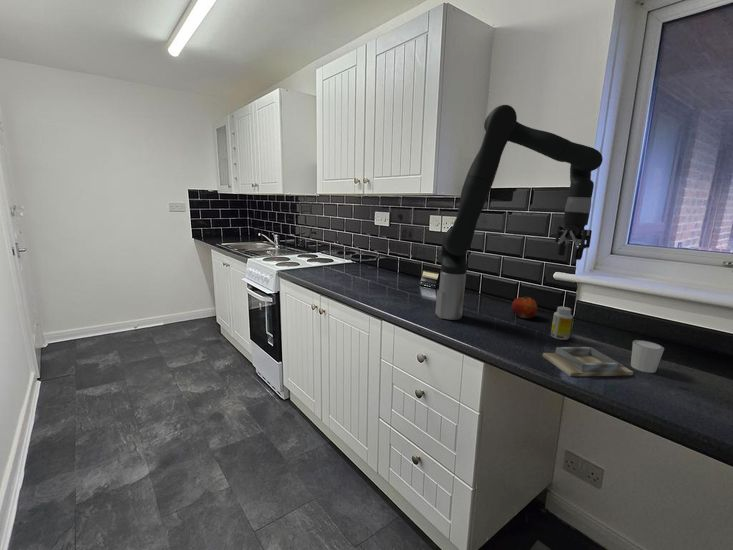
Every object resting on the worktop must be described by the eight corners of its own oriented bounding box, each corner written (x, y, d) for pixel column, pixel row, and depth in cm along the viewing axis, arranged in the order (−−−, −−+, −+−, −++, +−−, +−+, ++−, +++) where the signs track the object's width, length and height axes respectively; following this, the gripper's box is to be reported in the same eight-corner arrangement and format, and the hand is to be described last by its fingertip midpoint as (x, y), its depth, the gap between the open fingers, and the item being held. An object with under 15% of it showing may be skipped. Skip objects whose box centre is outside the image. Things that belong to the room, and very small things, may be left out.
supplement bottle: (572, 339, 119) (578, 309, 116) (561, 341, 116) (566, 311, 114) (557, 333, 123) (562, 305, 121) (546, 335, 121) (551, 306, 119)
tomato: (538, 321, 135) (541, 301, 133) (512, 319, 136) (515, 299, 135) (532, 314, 144) (535, 295, 142) (508, 311, 145) (511, 292, 144)
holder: (569, 376, 93) (571, 365, 92) (542, 356, 104) (544, 346, 104) (632, 375, 95) (634, 364, 94) (598, 355, 107) (600, 346, 106)
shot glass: (622, 362, 103) (626, 339, 101) (644, 362, 103) (649, 339, 102) (641, 374, 96) (647, 349, 94) (665, 374, 97) (671, 349, 95)
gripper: (553, 209, 129) (546, 253, 133) (582, 211, 116) (573, 260, 119) (572, 210, 130) (564, 254, 134) (603, 212, 117) (593, 261, 120)
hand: (568, 257), depth 127 cm, fingers open, 8 cm apart
